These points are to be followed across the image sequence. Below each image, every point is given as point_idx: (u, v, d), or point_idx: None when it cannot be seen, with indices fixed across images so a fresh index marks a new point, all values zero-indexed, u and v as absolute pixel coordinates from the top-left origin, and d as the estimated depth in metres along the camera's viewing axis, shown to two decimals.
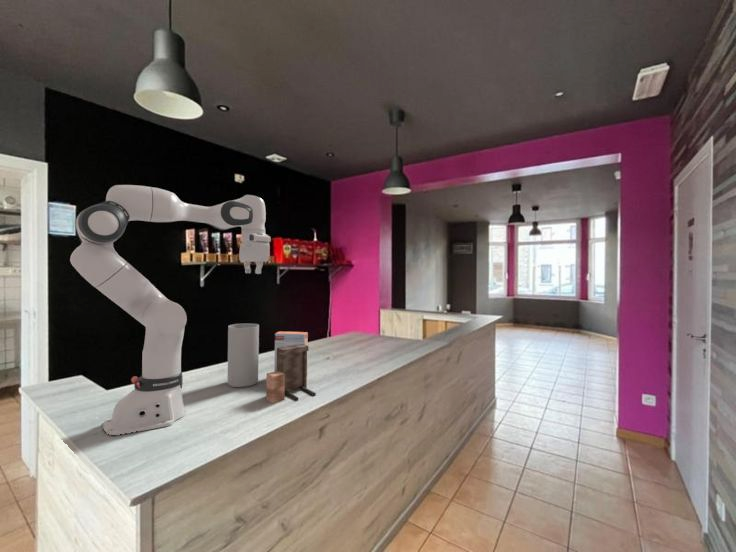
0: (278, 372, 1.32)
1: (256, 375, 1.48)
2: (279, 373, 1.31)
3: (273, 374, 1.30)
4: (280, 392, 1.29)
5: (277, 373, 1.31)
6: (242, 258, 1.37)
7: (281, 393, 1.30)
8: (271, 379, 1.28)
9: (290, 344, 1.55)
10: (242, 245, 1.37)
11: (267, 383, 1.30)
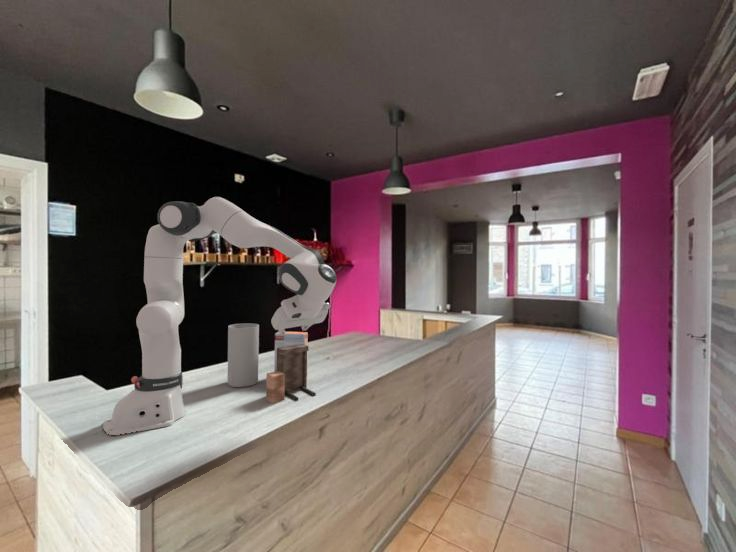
0: (278, 372, 1.32)
1: (256, 375, 1.48)
2: (279, 373, 1.31)
3: (273, 374, 1.30)
4: (280, 392, 1.29)
5: (277, 373, 1.31)
6: None
7: (281, 393, 1.30)
8: (271, 379, 1.28)
9: (290, 344, 1.55)
10: None
11: (267, 383, 1.30)
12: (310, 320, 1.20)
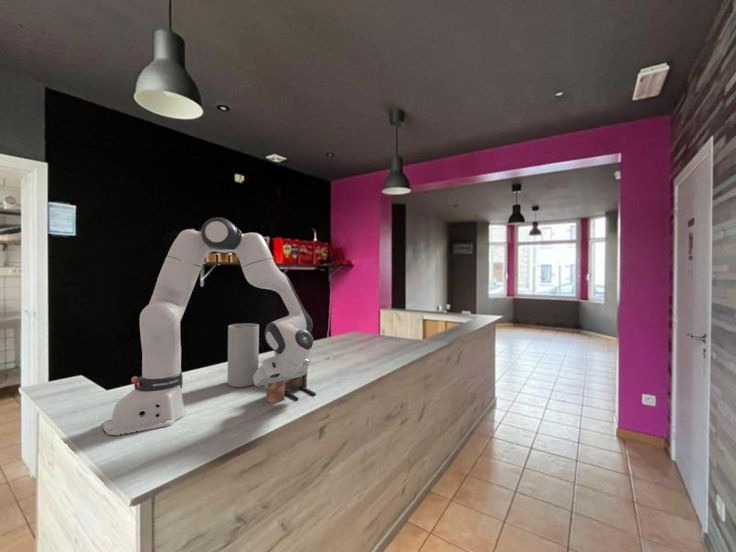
0: None
1: None
2: None
3: None
4: (280, 392, 1.29)
5: None
6: None
7: (281, 393, 1.30)
8: None
9: None
10: None
11: None
12: None
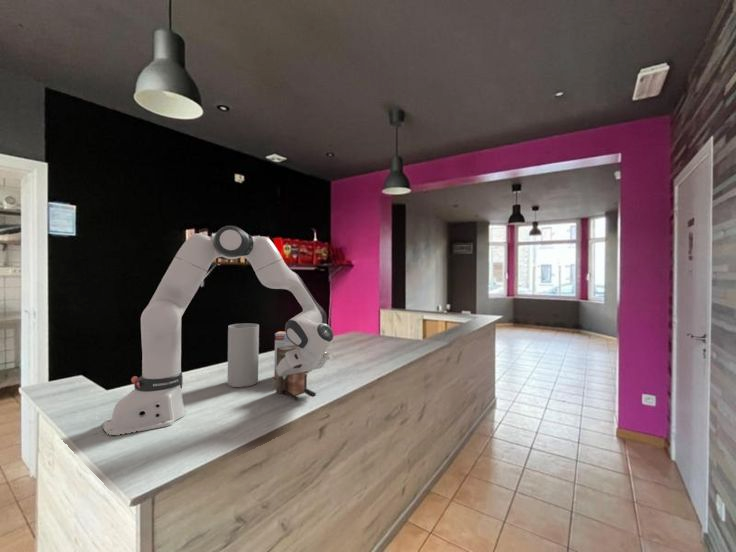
0: None
1: (256, 375, 1.48)
2: None
3: None
4: (300, 385, 1.38)
5: None
6: None
7: (301, 386, 1.38)
8: None
9: (290, 344, 1.55)
10: None
11: (288, 377, 1.38)
12: (310, 367, 1.37)
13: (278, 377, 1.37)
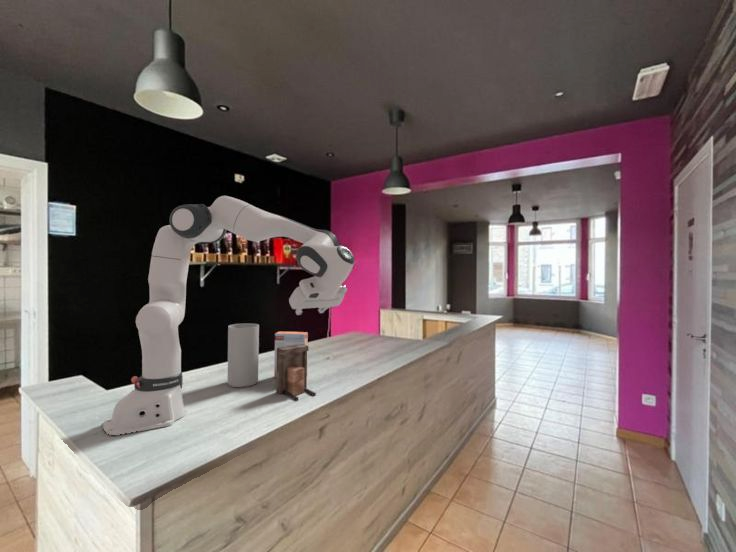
0: (298, 366, 1.40)
1: (256, 375, 1.48)
2: (299, 367, 1.39)
3: (294, 368, 1.38)
4: (300, 385, 1.38)
5: (297, 367, 1.39)
6: None
7: (301, 386, 1.38)
8: (292, 373, 1.36)
9: (290, 344, 1.55)
10: None
11: (288, 377, 1.38)
12: (327, 302, 1.22)
13: (278, 377, 1.37)
